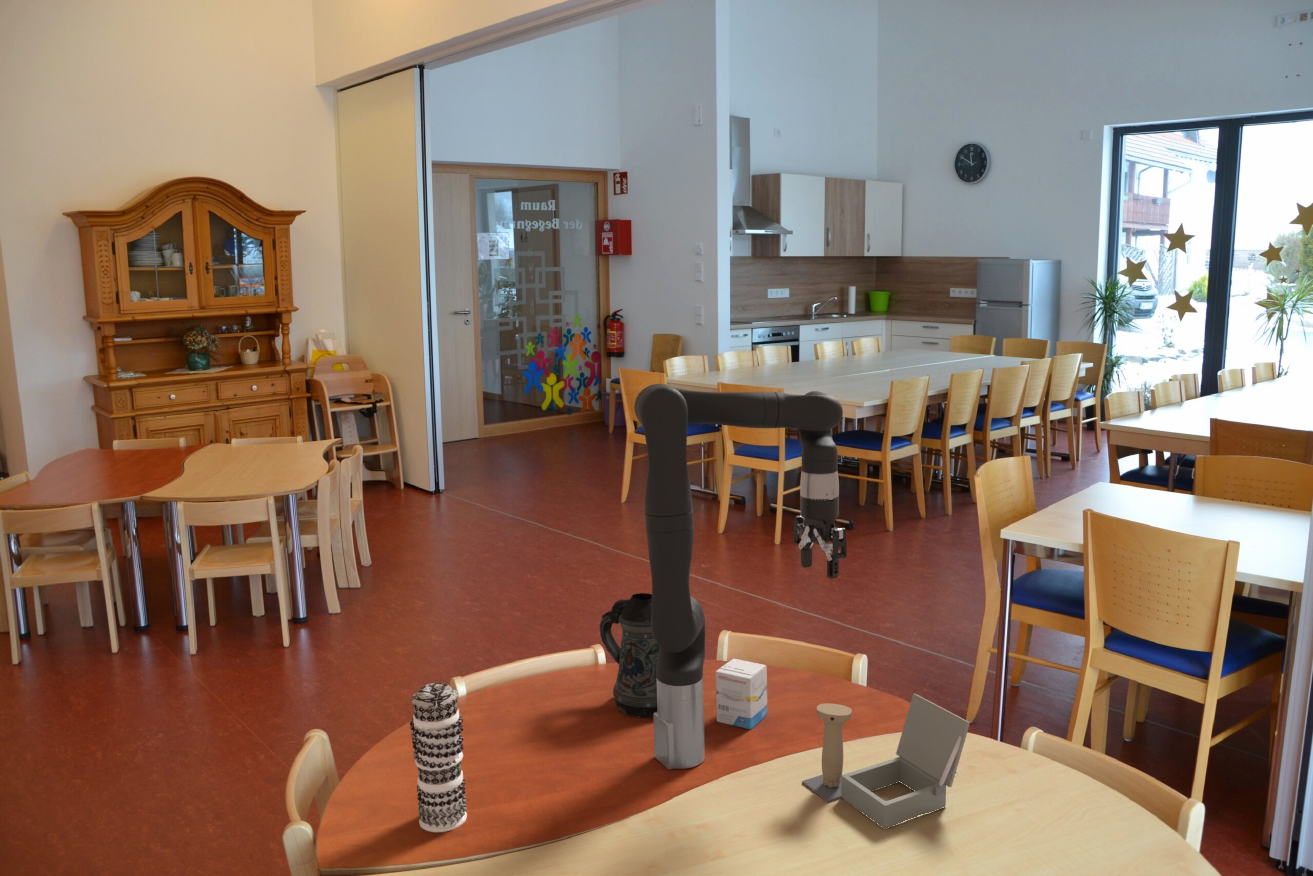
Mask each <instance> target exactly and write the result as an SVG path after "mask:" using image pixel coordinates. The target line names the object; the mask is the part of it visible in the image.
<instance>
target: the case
mask: <svg viewBox="0 0 1313 876" xmlns="http://www.w3.org/2000/svg"><path fill="white" fill-rule="evenodd" d="M970 724H971V722H970V721H968V720H966V719H964V718H962V717H960V716H959V715H957V714H955V713H953V712H951V711H949V710H947V709H945V708H944V707H941V706H940V705H937V704H936V703H934V702H932V701H930V700H928V699H926V698H924V697H922V696H921V695H919V694H917V693H912V697H911V701H910V703H909V707H908V710H907V714H906V718H905V721H904V725H903V728H902V731H901V735H900V738H899V741H898V745H897V749H896V752H895V754H896V756H898V757H895V758H894V757H893V758H892V759H888V760H885V761H882V762H878V763H875V764H873V765H869V766H867V767H862V768H861V769H857V770H854V771H851V772H847V773H845V774H842V775H841V798H840V799H842V798H843V799H844V800H843V799H842V800H843V801H844V802H846V801H847V802H848V803H847V802H846V803H847V804H849V803H850V804H851V805H852V806H851V805H850V804H849V805H850V806H851V807H853V806H854V807H855V808H854V807H853V808H854V809H855V810H857V809H858V810H859V811H858V810H857V811H858V812H860V811H861V812H863V813H864V814H865V815H867V816H868V817H869V818H871V819H872V820H874V821H875V822H876V823H878V824H879V825H880V826H882V827H883V828H884V829H885V830H887V829H886V828H888V827H891V826H893V825H896V824H898V823H901V822H903V821H905V820H908V819H911V818H914V817H917V816H918V815H921V814H925V813H929V812H932V811H935V810H937V809H940V808H942V807H945V806H946V804H947V801H946V800H947V787H949V788H952V787H953V784H954V779H955V776H956V773H957V769H958V766H959V763H960V759H961V756H962V752H963V749H964V745H965V742H966V738H967V734H968V732H969V728H970ZM899 781H900V782H902V783H903V784H905V785H907V786H908V787H910V788H911V789H913V790H915V792H914V791H912V792H909V793H907V794H904V795H900V796H897V797H895V798H892V799H890V800H884V799H883V798H881V797H879V795H877V794H876V793H874V791H873V790H875V791H877V790H876V789H878V788H881V787H884V786H887V787H889V786H888V785H890V784H893V783H896V782H899ZM900 782H899V783H900ZM902 783H901V784H902ZM896 784H897V783H896ZM903 784H902V785H903ZM893 785H894V784H893ZM905 785H904V786H905ZM890 786H891V785H890ZM908 787H907V788H908ZM884 788H885V787H884ZM881 789H882V788H881ZM911 789H910V790H911ZM878 790H879V789H878ZM871 791H872V792H871ZM861 812H860V813H861ZM864 814H863V815H864ZM865 815H864V816H865ZM868 817H867V818H868ZM869 818H868V819H869ZM871 819H870V820H871ZM872 820H871V821H872ZM875 822H874V823H875ZM876 823H875V824H876ZM879 825H878V826H879ZM880 826H879V827H880ZM882 827H881V828H882ZM883 828H882V829H883ZM891 828H892V827H891ZM884 829H883V830H884ZM888 829H889V828H888Z"/></svg>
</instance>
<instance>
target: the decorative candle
mask: <svg viewBox="0 0 1313 876" xmlns="http://www.w3.org/2000/svg"><path fill="white" fill-rule="evenodd" d="M458 696H459V693H458V691H457V690H456V689H453V688H452V686H451V685H449V684H446V683H443V682H433V683H432V682H431V683H427V684H424V685H422V686H421V687H419V688H418V690H417V692H416V693H414V694H413V695H412V697H411V699H410V701H411V702H412V704H413V706H412V707H413V715H412V718H411V721H410V722H409V725H410V727H409V729H410V730H411V731H412V732H411V734H410V736H411V740H412V743H411V744H412V749H414V751H413V759H414V763H415V766H416V767H417V771H418V775H417V785H416V792H417V798H416V799H417V801H418V802H417V811H418V818H419V820H418V823H419V826H420V828H421V829H423V830H425V831H426V832H430V833H445V832H448V831H452V830H455V829H457V828H460V827H461V826H462V825H463V824H464V823H465V822H466V821H467V816H468V813H467V812H466V811H467V809H468V808H467V804H466V803H467V796H466V795H465V794H466V792H467V791H466V787H465V786H466V782H465V781H466V780H465V779H464V772H463V770H462V769H463V768H462V760H463V758H464V753H463V751H464V744H463V742H464V737H463V735H462V732H463V731H464V726H463V725H462V723H463V722H464V719H463V717H462V716H461V715H460V709H459V708H458V699H457V698H458Z"/></svg>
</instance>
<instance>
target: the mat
mask: <svg viewBox="0 0 1313 876" xmlns="http://www.w3.org/2000/svg"><path fill="white" fill-rule="evenodd" d="M823 778H824V776H823V774H820V775H817V776H814V777H811V778H808V779H803V780H802V781H801V783H802V784H803V783H804V784H805V785H806V786H805V785H804V784H803V785H804V786H805V787H807V786H808V787H809V788H810V789H809V788H808V787H807V788H808V789H809V790H811V789H812V790H813V791H814V792H813V791H812V790H811V791H812V792H813V793H815V794H816V793H817V794H818V795H817V794H816V795H817V796H819V797H820V798H821V797H822V798H821V799H823V800H824V801H825V802H827V803H830V802H834V801H836V799H837V800H840V799H842V798H841V782H840V785H839V787H833V788H829V787H828V786H826V785H824V784H823ZM839 798H840V799H839ZM833 800H834V801H833Z"/></svg>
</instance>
